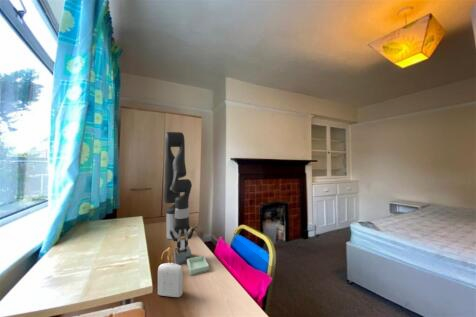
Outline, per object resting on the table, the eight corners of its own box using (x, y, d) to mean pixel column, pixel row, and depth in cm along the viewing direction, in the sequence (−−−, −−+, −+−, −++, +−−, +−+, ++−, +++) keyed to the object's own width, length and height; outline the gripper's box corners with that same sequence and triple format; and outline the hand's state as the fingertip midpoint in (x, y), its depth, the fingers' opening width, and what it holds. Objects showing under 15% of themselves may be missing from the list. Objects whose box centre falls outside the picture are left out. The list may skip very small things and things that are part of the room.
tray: (186, 263, 103) (186, 258, 103) (203, 260, 107) (203, 255, 107) (190, 275, 93) (190, 270, 93) (208, 270, 97) (208, 265, 97)
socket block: (174, 257, 110) (174, 248, 110) (188, 254, 113) (188, 245, 113) (175, 264, 103) (175, 255, 103) (191, 261, 106) (191, 252, 106)
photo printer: (184, 291, 82) (184, 261, 82) (180, 298, 78) (179, 267, 78) (161, 289, 84) (161, 260, 84) (156, 296, 80) (155, 265, 79)
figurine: (162, 278, 91) (161, 252, 91) (160, 271, 97) (160, 247, 97) (180, 273, 95) (180, 248, 95) (178, 266, 101) (177, 243, 100)
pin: (178, 258, 109) (178, 234, 109) (185, 256, 111) (185, 233, 111) (179, 261, 105) (178, 237, 105) (186, 260, 107) (186, 235, 107)
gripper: (193, 212, 114) (194, 242, 114) (168, 215, 109) (168, 246, 109) (196, 216, 107) (196, 247, 107) (168, 219, 102) (169, 252, 102)
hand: (182, 247), depth 108 cm, fingers closed on pin, 3 cm apart
